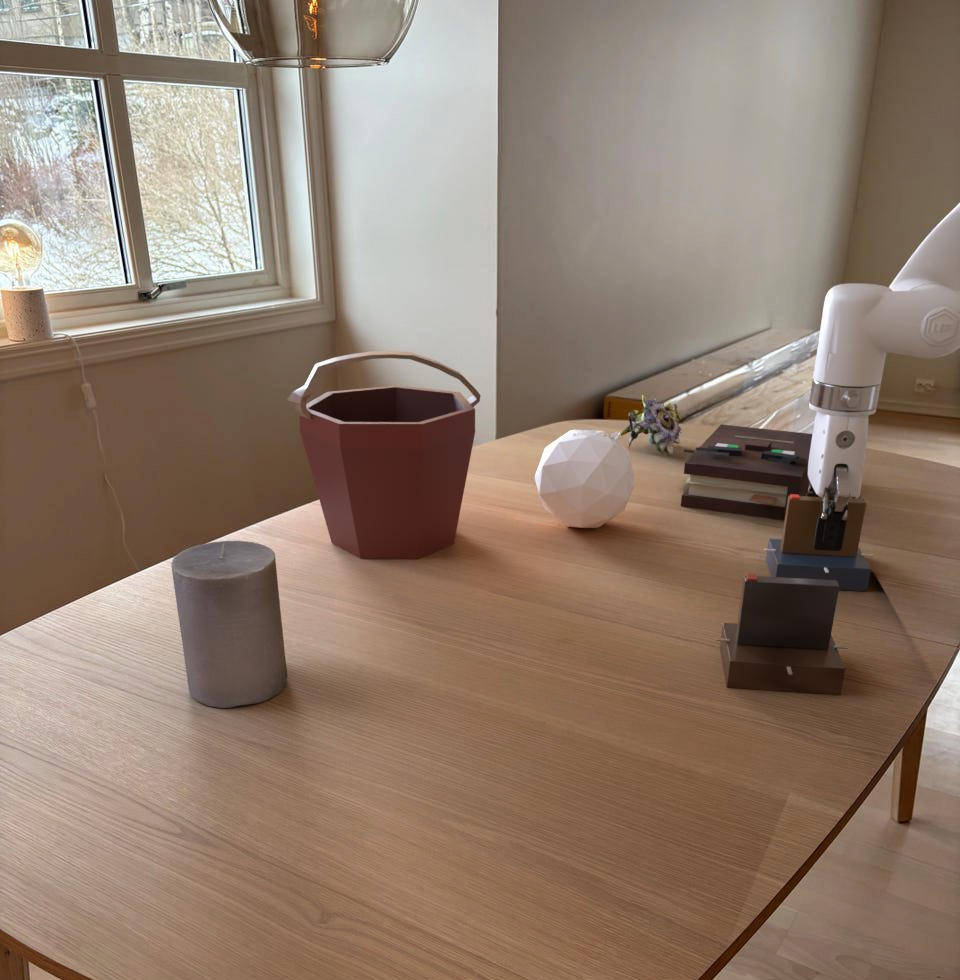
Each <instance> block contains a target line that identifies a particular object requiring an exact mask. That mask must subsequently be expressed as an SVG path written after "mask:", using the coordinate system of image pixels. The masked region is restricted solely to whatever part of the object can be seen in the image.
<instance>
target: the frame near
mask: <svg viewBox="0 0 960 980" xmlns="http://www.w3.org/2000/svg"><path fill="white" fill-rule="evenodd" d="M839 592H840V590H839V585H838V583H837V581H836V580H820V579H801V578H783V577H771V576H761V575H757V574H756V573H745V575H743V579H742V586H741V594H740V601H739V608H738V609H739V610H738V616H737V617H738V618H737V632H736V641H737V644H739V645H755V646H771V647H787V648H803V649H819V650H828V648H829V643H830V637H831V635H832V631H833V625H834V620H835V614H836V609H837V604H838V603H837V602H838V597H839Z"/></svg>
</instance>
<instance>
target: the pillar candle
mask: <svg viewBox="0 0 960 980" xmlns="http://www.w3.org/2000/svg"><path fill="white" fill-rule="evenodd" d="M170 565H171V566H170V567H171V574H172V581H173V588H174V595H175V602H176V608H177V617H178V622H179V629H180V636H181V643H182V649H183V657H184V658H183V659H184V665H185V671H186V680H187V687H188V692H189V695H190V696H191V697H192V698H193V699H194V700H195V701H196V702H198V703H200V704H203V705H206V706H208V707H215V708H218V709H225V708H233V707H238V706H245V705H246V706H247V705H254V704H255V705H256V704H260V703H263V702H266V701H268V700H270V699H272V698H274V697H275V696H277V695H279V694H280V693H281V692H282V691H283V689H284V688H285V686H286V684H287V678H288V676H289V675H288V668H287V659H286V651H285V641H284V630H283V622H282V612H281V611H282V610H281V601H280V592H279V580H278V571H277V561H276V553H275V551H274V550H273V549H272V548H270V547H268V546H267V545H265V544H262V543H258V542H254V541H246V540H245V541H244V540H221V541H212V542H207V543H206V542H205V543H200V544H198V545H194V546H191V547H188V548H186V549H184V550H183V551H181V552H179V553H177V554H176V555H174V557H173V559H172V560H171V563H170Z"/></svg>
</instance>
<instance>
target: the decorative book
mask: <svg viewBox="0 0 960 980" xmlns="http://www.w3.org/2000/svg"><path fill="white" fill-rule="evenodd" d="M812 435H813V433H806V432H799V431H790V430H789V431H787V430H778V429H770V428H769V429H768V428H759V427H750V426H740V425H731V424H730V425H729V424H720V425H719V426H718V427H717V428H716V429H715V430H714V431H713V432H712V433H711V434H710V436H709V437H707V439H706V440H705V441H704V442H703V443H702V444H701V445H700V446H699V447H696V448H695V449H683V451H682V453H686V454H691V456H689V457H688V459H687V460H686V461H684V468H683V474H684V475H688V477H687V478H686V480H684V483H687V484H689V486H688V488H687V489H686V490H685V491H683V493H682V494H681V499H680V507H684V508H685V507H686V508H692V509H699V510H708V511H713V512H720V513H721V512H722V513H728V512H729V514H735V513H737V515H744V516H750V515H751V517H758V518H765V519H774V520H781V521H785V514H786V507H787V501H788V496H790V494H799V496H806V494H807V492H808V485H809V482H810V480H809V478H808V462H809V454H810V447H811V441H812ZM808 493H810V492H808Z"/></svg>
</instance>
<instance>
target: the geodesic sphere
mask: <svg viewBox="0 0 960 980" xmlns="http://www.w3.org/2000/svg"><path fill="white" fill-rule="evenodd" d="M618 431H619V430H616V431H614V432H613V433H612V432H611V434H608V433H607V432H606V431H605V430H597V429H594V428H593V429H571V430H569V431H567V432H565V434H563V435H561V436H559V437H558V438H557V439H556V440H554V441H553V442H551V443H550V444H548V445H547V446H545V447H544V450H543V453H542V455H541V458H540V460H539V463H538V466H537V469H536V472H535V474H534V481H535V485H536V489H537V492H538V495H539V499H540V502H541V503H540V504H541V507H542V508H543V509H545V510H546V511H547V512H548V513H550V514H551V515H552V516H553V517H554V518H556V519H557V520H558V521H559V522H561V523H562V524H563V526H566V527H570V528H580V529H591V528H592V529H598V528H600V527H602V526H603V525H605V524H606V523H608V522H610V521H611V520H613V519H614V518H616V517H617V516H619V515H621V514H622V513H624V512H625V510H626V507H627V505H628V503H629V500H630V498H631V495H632V492H633V491H634V487H635V485H636V482H637V479H636V476H635V472H634V468H633V464H632V459H631V456H630V452H629V450H628V449H627V448H625V447H624V446H623V445H622V444H621V443H620V441H621V440H622V438H624V435H622V436H621V433H622V432H621V431H619V432H618ZM619 436H621V437H619Z"/></svg>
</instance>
